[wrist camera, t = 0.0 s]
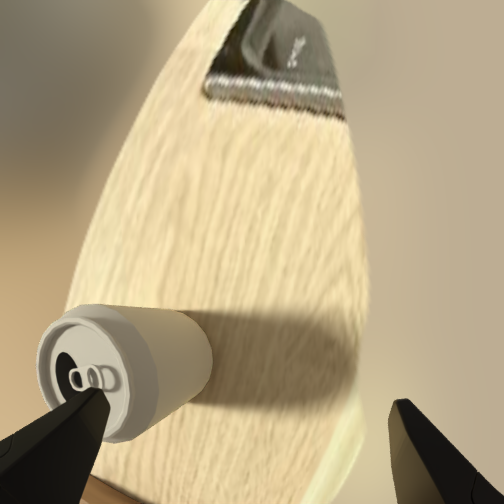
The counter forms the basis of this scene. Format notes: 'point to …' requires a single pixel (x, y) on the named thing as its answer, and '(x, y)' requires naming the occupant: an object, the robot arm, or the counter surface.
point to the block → (103, 494)
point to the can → (125, 363)
